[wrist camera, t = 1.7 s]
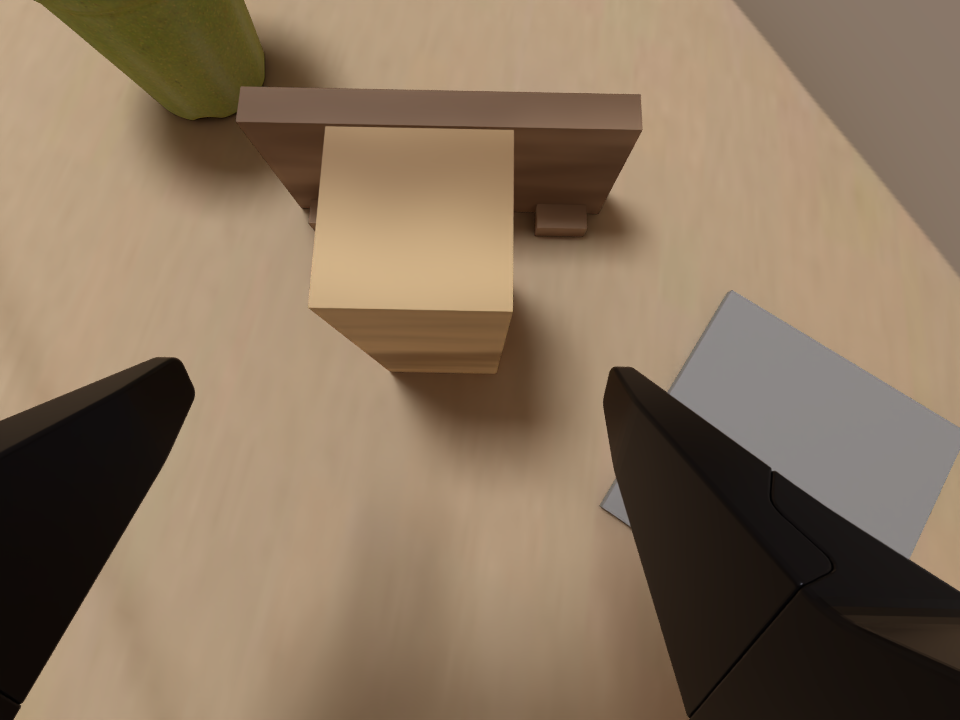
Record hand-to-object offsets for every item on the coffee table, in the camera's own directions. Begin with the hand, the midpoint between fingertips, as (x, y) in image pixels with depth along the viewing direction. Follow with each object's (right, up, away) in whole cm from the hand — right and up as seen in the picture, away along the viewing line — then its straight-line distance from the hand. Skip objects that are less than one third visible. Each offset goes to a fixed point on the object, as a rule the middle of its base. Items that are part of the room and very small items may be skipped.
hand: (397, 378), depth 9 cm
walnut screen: (0, +9, +13) cm, 16 cm away
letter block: (0, +2, +12) cm, 12 cm away
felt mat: (+15, -5, +10) cm, 19 cm away
